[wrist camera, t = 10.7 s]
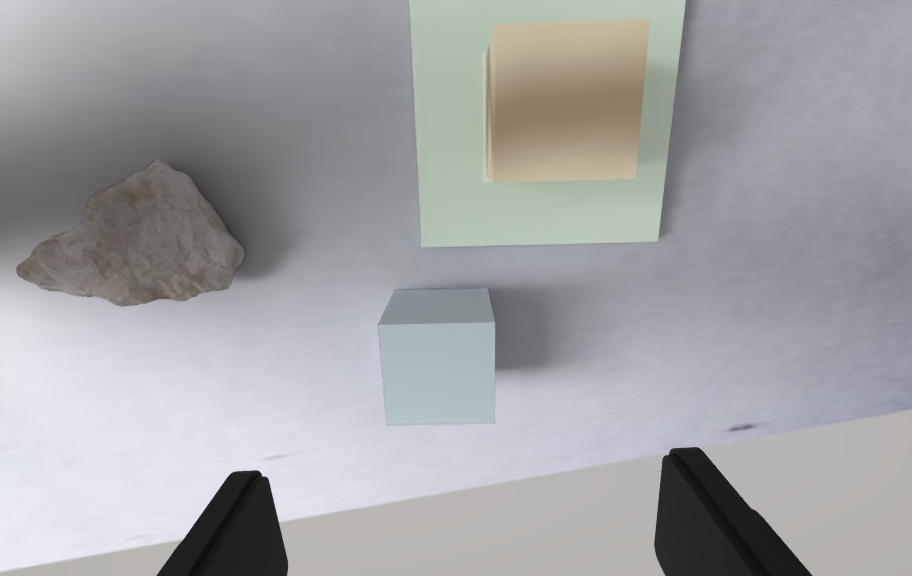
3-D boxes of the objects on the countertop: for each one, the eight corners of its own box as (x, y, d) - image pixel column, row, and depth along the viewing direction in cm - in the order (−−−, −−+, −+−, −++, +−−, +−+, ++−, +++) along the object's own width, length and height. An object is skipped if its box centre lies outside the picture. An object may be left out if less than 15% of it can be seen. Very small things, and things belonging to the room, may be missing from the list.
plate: (423, 243, 26) (421, 247, 25) (410, -20, 22) (407, -30, 21) (649, 238, 26) (658, 242, 25) (678, -28, 22) (691, -39, 21)
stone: (271, 267, 27) (221, 297, 22) (143, 320, 28) (64, 361, 23) (203, 143, 25) (127, 141, 19) (67, 207, 26) (-41, 222, 21)
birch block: (485, 58, 22) (494, 24, 16) (600, 54, 22) (650, 18, 16) (486, 176, 24) (495, 182, 18) (593, 173, 24) (635, 178, 18)
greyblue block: (400, 372, 29) (386, 425, 24) (394, 289, 27) (377, 324, 22) (487, 370, 29) (494, 423, 23) (487, 287, 27) (495, 322, 22)
